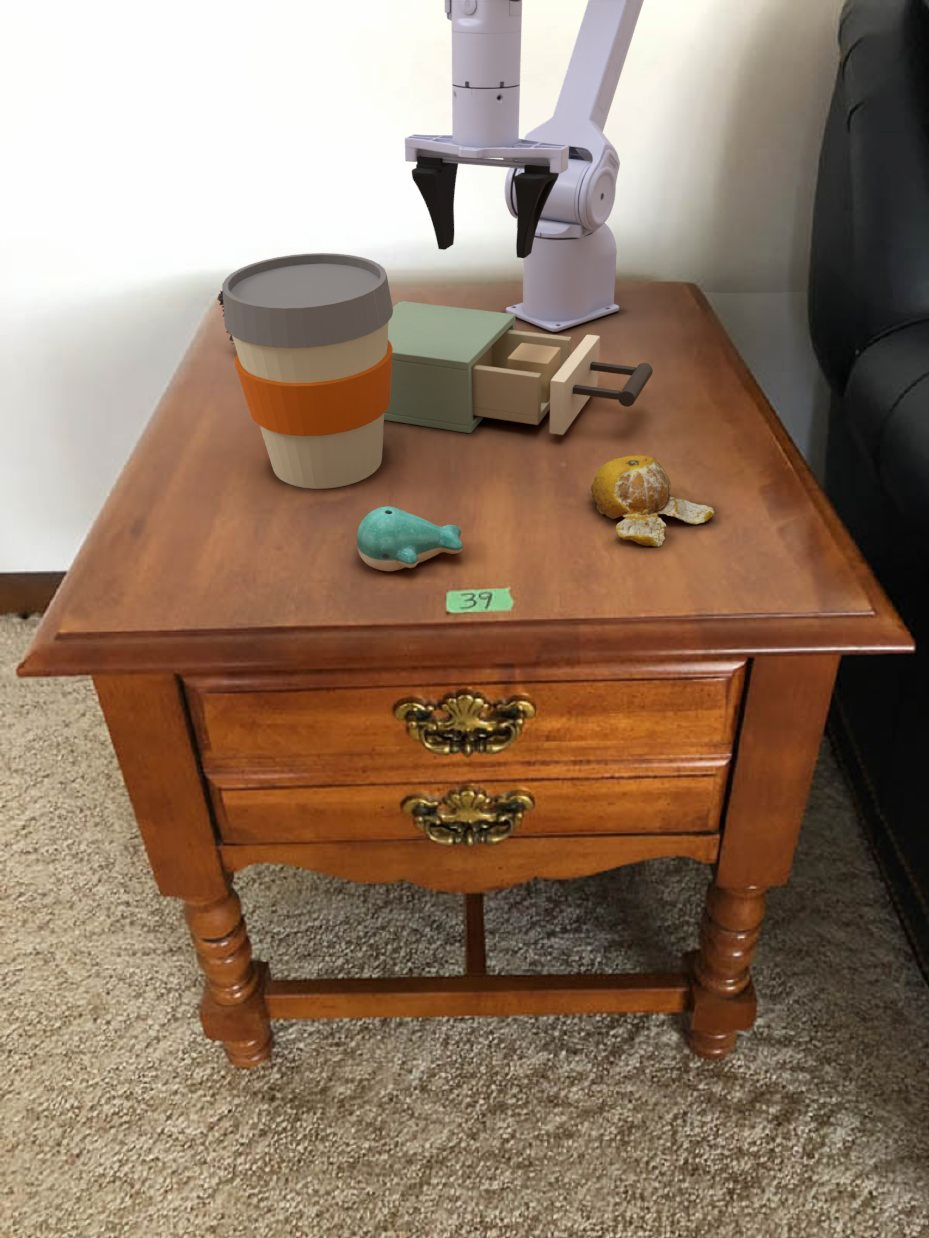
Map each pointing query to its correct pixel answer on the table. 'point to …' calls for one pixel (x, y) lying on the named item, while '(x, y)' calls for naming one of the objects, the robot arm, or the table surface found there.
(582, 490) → the table surface
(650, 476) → the fruit
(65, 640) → the table surface
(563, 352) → the drawer
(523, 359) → the block
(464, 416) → the cabinet
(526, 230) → the robot arm
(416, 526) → the whale figurine
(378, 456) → the reusable coffee cup
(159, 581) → the table surface
